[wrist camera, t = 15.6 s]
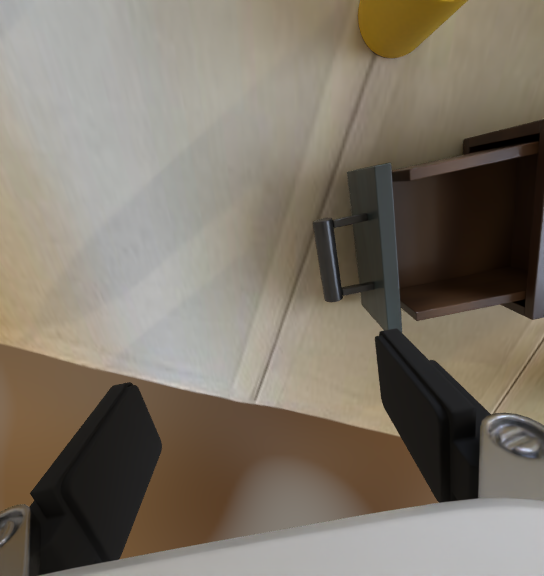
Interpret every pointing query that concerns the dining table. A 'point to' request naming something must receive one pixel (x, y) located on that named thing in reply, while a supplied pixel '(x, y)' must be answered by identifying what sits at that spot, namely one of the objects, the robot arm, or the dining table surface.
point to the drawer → (436, 234)
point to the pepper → (401, 23)
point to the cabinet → (540, 279)
